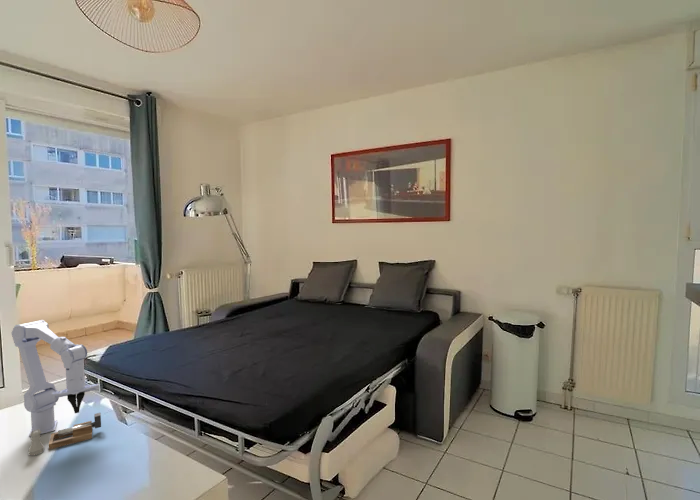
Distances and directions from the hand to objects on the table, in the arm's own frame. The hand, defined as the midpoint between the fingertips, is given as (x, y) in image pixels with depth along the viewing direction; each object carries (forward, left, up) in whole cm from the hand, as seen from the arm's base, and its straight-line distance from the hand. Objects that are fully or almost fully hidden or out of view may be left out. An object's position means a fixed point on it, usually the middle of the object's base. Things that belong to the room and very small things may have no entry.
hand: (77, 412), depth 144 cm
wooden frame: (0, -2, -10) cm, 10 cm away
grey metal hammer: (0, +1, -8) cm, 8 cm away
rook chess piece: (+4, -12, -10) cm, 16 cm away
